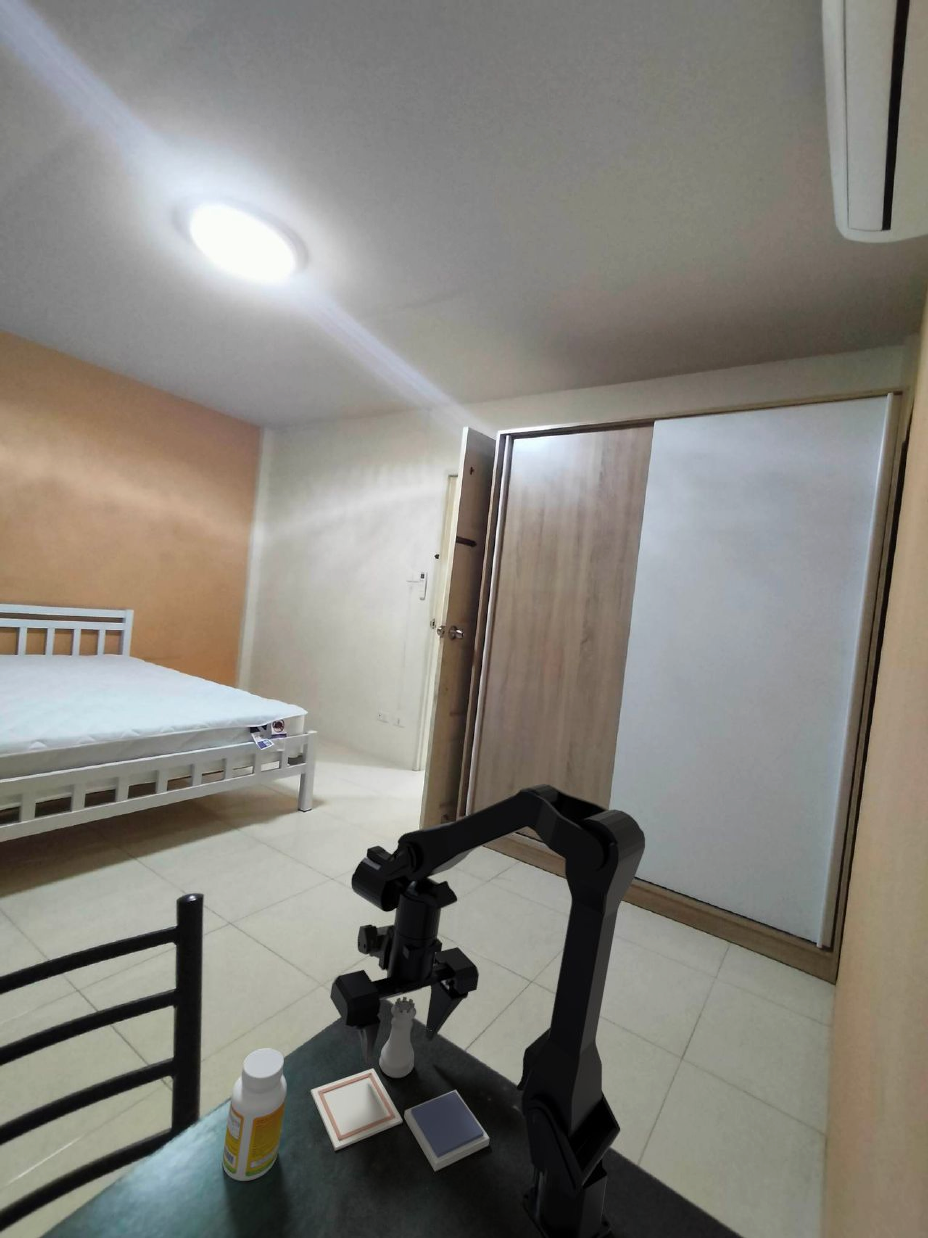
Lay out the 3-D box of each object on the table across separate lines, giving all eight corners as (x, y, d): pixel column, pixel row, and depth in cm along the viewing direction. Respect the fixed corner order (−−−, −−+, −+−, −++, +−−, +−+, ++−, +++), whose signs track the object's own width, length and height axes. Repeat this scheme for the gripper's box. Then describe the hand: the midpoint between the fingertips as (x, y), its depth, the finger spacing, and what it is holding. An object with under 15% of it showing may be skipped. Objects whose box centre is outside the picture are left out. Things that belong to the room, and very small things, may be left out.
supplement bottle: (285, 1137, 60) (298, 1046, 60) (266, 1188, 55) (280, 1088, 55) (235, 1129, 60) (248, 1038, 60) (211, 1178, 55) (226, 1078, 55)
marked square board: (402, 1122, 64) (402, 1119, 64) (335, 1151, 59) (335, 1147, 59) (372, 1070, 70) (373, 1067, 70) (310, 1092, 66) (311, 1089, 66)
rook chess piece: (416, 1056, 74) (424, 995, 74) (409, 1084, 69) (419, 1019, 69) (383, 1049, 74) (391, 989, 74) (374, 1076, 70) (383, 1011, 70)
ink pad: (488, 1145, 62) (490, 1134, 62) (434, 1171, 59) (436, 1160, 59) (454, 1096, 68) (456, 1086, 68) (404, 1117, 64) (405, 1107, 64)
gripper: (444, 887, 84) (429, 992, 83) (324, 907, 73) (307, 1027, 73) (488, 926, 74) (471, 1044, 74) (357, 956, 64) (338, 1093, 64)
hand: (398, 1049), depth 72 cm, fingers open, 9 cm apart
